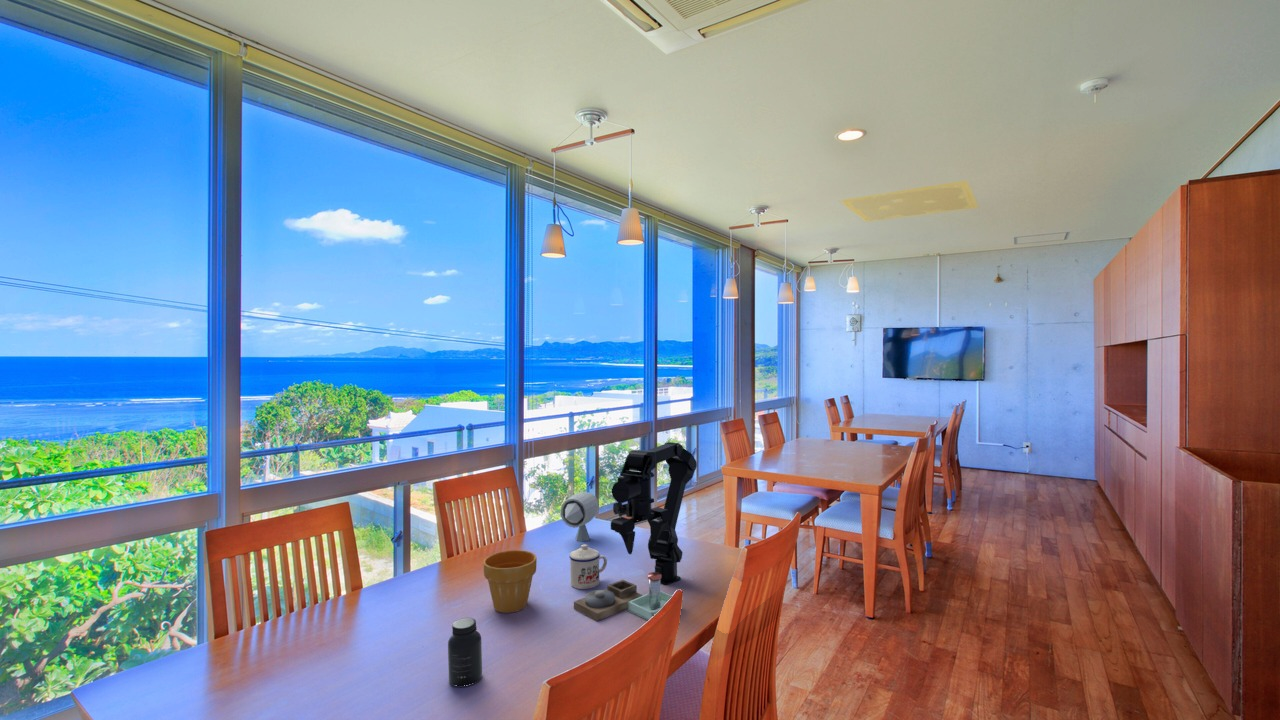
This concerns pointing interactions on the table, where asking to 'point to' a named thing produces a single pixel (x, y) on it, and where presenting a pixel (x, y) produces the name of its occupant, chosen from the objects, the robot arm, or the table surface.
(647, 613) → the tray
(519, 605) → the flower pot
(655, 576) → the pin
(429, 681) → the table surface
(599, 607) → the block
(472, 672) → the supplement bottle
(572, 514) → the jet engine
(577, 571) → the teacup with lid
